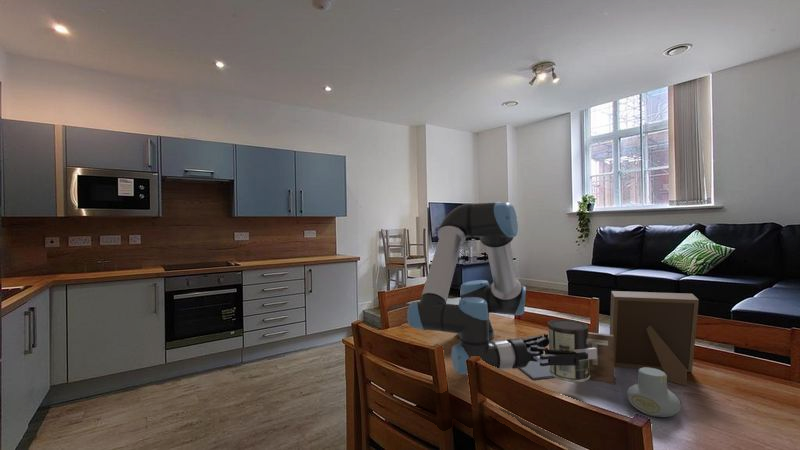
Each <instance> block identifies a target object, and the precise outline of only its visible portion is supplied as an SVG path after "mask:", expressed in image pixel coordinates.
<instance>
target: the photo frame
mask: <svg viewBox="0 0 800 450" xmlns="http://www.w3.org/2000/svg"><path fill="white" fill-rule="evenodd" d="M699 301H700V300H699V298H697V296H695V295H694V294H693V293H687V292H686V293H679V292H678V293H677V292H658V291H657V292H655V291H653V292H650V291H649V292H648V291H623V290H622V291H621V290H619V291H617V290H611V292H610V313H609V316H610V317H609V335H614V367H622V368H632V369H640V368H643V367H648V368H655V369H658V370H661V371H662V370H663V372H664V373H665V374H666V375H667V382H671V383H674V384H675V383H676V384H679V385H682V386H688V385H687V379H688V378H687V375H688V373H687V372H692V373H693V364H694V355H695V354H694V353H695V344H696V333H697V325H698V324H697V323H698V313H699Z"/></svg>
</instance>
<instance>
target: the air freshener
mask: <svg viewBox="0 0 800 450" xmlns="http://www.w3.org/2000/svg"><path fill="white" fill-rule="evenodd" d="M637 373H638V375H637V377H638V379H637V380H638V383H635V384H632V385H631V386H630V387H629V388H627V391H626V396H627V400H628V401H629V403H630V404H631V406H633V407H634V408H635V409H637V410H638V411H640V412H641V413H642V414H645V415H647V416H650V417H655V418H668V417H672V416H675V415H676V414H678V412H679V411H680V410H681V403H680V402H681V401H680V400H679V398H678V396H676V394H675V393H673V392H672V391H671V390H670V389H668V380H667V375H666V374H665V373H664V371H662V370H658V369H655V368H648V367H643V368H638V370H637Z"/></svg>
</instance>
